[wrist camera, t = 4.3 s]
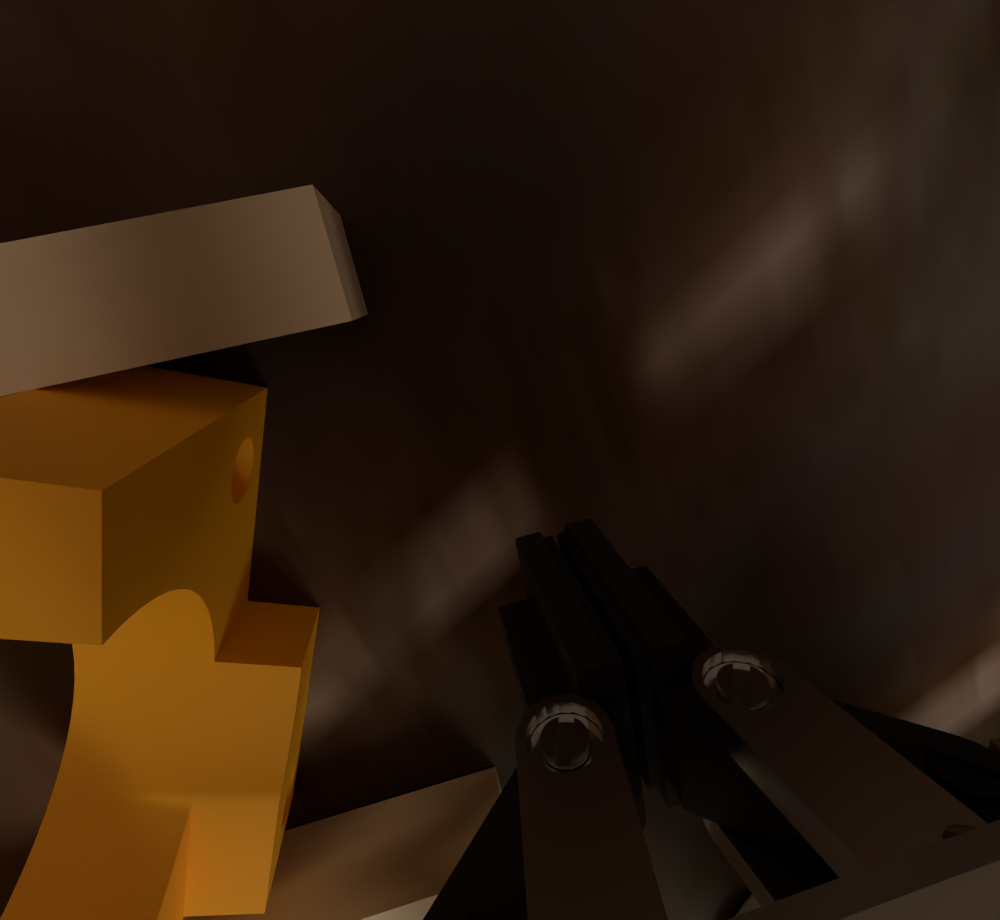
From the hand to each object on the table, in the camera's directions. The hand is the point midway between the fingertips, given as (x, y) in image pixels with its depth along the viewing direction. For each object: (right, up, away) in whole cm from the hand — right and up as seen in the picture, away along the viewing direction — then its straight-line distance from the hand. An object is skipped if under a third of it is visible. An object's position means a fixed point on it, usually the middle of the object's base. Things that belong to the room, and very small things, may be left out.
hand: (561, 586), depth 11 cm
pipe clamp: (-8, -1, +2) cm, 9 cm away
